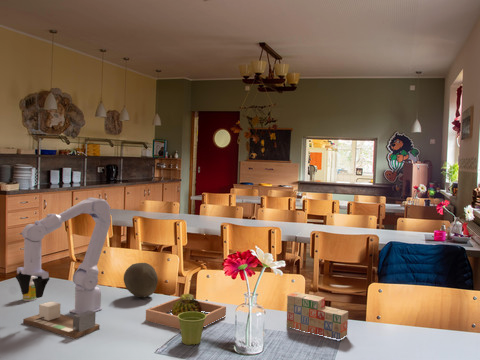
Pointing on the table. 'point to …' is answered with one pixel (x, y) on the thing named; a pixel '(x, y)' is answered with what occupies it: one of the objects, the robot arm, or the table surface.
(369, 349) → the table surface
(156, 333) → the table surface
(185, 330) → the plant pot
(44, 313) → the block
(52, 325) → the gauge track
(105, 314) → the table surface
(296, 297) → the stack of blocks
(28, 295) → the supplement bottle
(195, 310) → the cactus
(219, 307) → the planter frame
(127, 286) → the dark brown ball
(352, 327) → the table surface
